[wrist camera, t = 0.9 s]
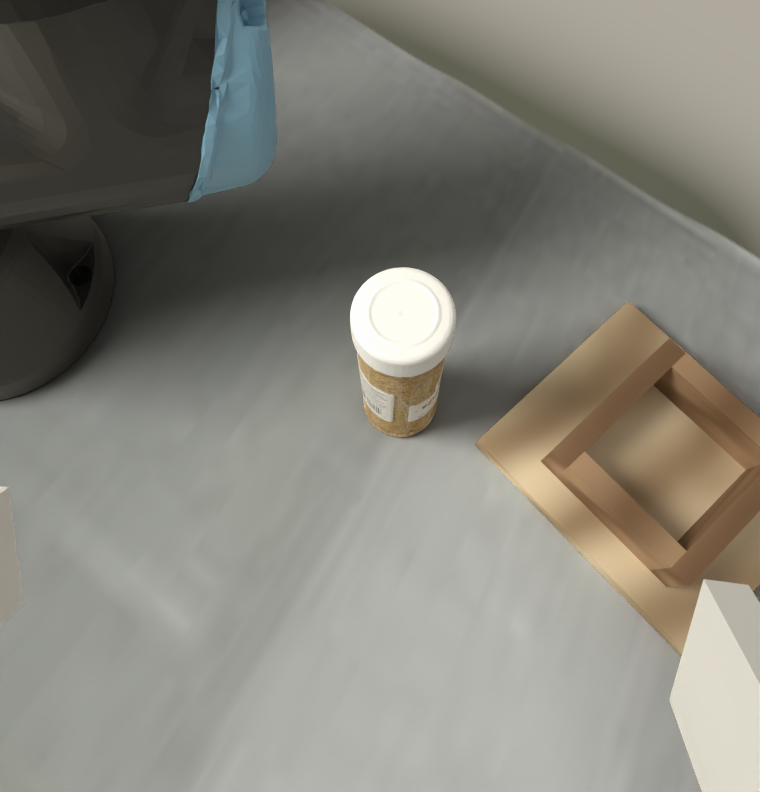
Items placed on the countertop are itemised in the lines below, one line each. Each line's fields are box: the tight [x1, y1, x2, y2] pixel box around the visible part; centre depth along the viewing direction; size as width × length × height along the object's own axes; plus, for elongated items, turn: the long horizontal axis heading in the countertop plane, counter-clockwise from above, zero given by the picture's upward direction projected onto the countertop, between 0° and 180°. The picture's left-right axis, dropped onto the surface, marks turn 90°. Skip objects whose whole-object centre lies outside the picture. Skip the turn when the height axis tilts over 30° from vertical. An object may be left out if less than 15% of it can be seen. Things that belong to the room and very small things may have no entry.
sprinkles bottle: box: [350, 267, 456, 438], centre depth 35 cm, size 5×5×14 cm
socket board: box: [475, 301, 760, 656], centre depth 38 cm, size 16×13×4 cm
